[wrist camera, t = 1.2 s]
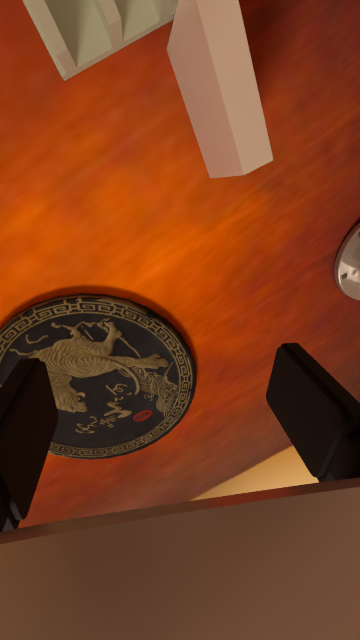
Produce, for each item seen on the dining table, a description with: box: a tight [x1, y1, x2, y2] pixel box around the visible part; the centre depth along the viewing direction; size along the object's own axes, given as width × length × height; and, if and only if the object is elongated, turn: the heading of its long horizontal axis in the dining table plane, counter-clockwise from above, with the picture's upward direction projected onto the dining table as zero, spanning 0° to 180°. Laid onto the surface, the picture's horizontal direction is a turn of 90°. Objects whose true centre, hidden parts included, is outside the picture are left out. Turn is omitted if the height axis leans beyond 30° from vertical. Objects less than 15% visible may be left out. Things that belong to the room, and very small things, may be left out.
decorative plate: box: [0, 293, 196, 459], centre depth 38 cm, size 30×2×30 cm
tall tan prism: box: [167, 0, 273, 178], centre depth 21 cm, size 2×11×10 cm, turn 24°
